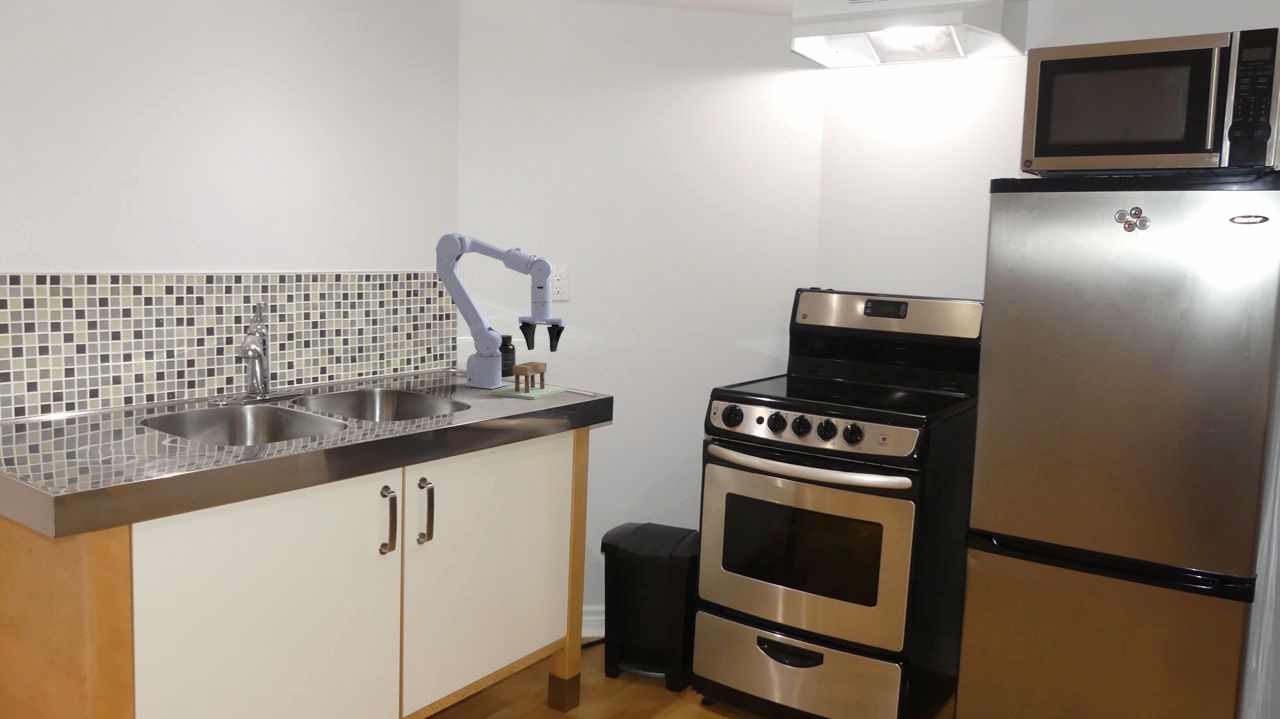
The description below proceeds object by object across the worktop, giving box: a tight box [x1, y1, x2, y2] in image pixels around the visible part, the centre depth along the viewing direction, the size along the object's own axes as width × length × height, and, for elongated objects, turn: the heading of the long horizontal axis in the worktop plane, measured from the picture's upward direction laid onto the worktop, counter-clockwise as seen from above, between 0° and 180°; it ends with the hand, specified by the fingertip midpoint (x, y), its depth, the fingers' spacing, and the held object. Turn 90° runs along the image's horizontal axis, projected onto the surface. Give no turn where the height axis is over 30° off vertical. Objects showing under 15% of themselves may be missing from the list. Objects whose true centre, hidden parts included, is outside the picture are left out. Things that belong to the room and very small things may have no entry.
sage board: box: [490, 382, 568, 401], centre depth 264 cm, size 14×16×1 cm
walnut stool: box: [513, 361, 548, 393], centre depth 263 cm, size 9×5×7 cm, turn 152°
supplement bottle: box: [498, 334, 517, 377], centre depth 291 cm, size 7×7×12 cm
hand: (542, 350), depth 270 cm, fingers open, 7 cm apart
